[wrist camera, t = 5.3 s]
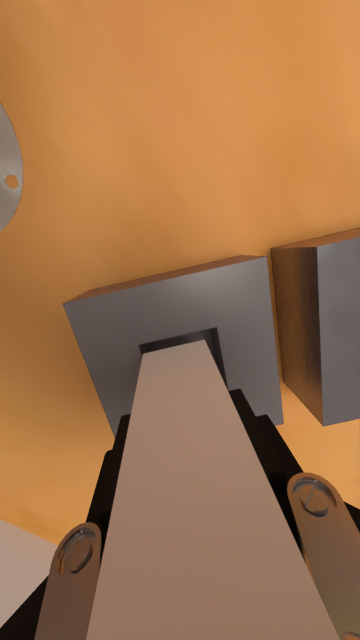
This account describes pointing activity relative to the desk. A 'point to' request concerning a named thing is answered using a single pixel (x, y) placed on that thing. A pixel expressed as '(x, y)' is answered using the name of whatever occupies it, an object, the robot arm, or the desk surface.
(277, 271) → the port block
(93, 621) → the plug peg
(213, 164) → the desk surface
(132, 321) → the grey peg socket base
